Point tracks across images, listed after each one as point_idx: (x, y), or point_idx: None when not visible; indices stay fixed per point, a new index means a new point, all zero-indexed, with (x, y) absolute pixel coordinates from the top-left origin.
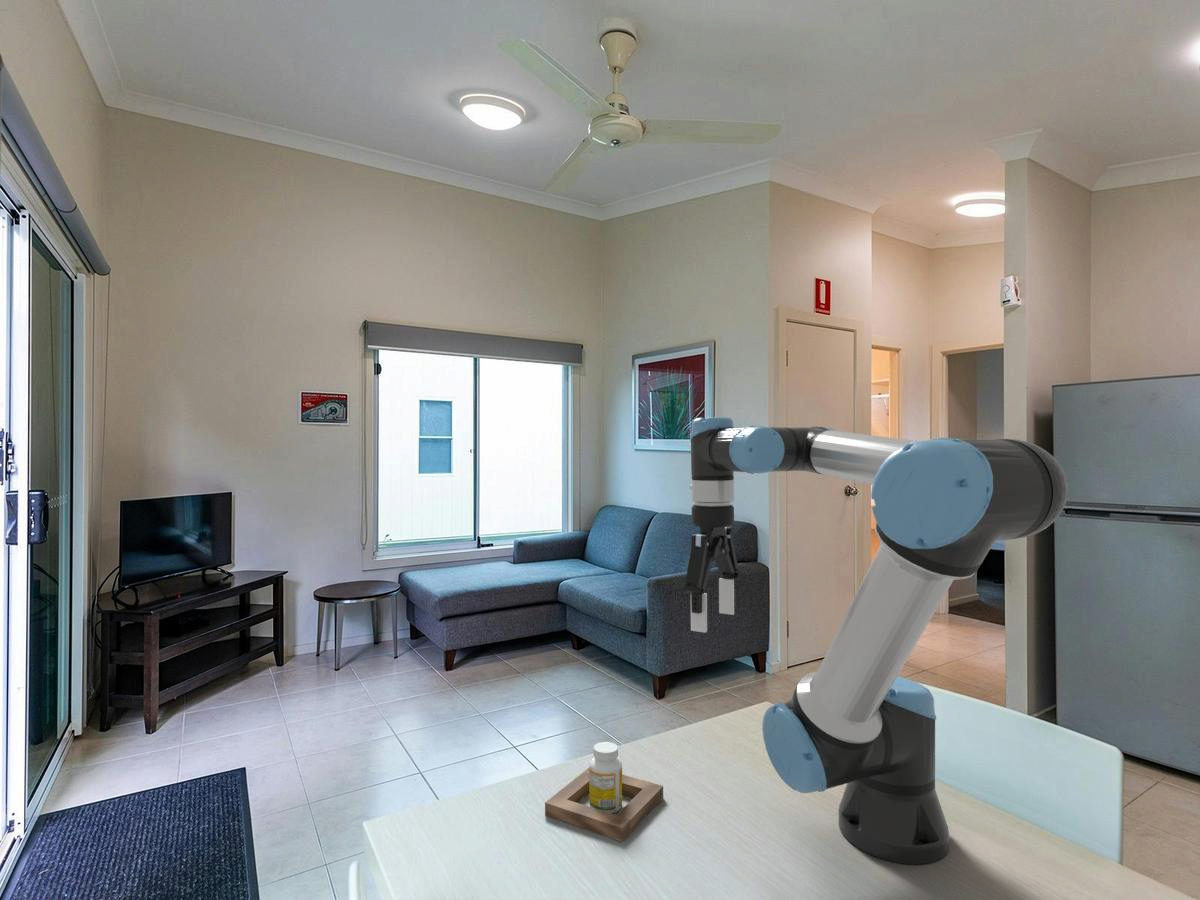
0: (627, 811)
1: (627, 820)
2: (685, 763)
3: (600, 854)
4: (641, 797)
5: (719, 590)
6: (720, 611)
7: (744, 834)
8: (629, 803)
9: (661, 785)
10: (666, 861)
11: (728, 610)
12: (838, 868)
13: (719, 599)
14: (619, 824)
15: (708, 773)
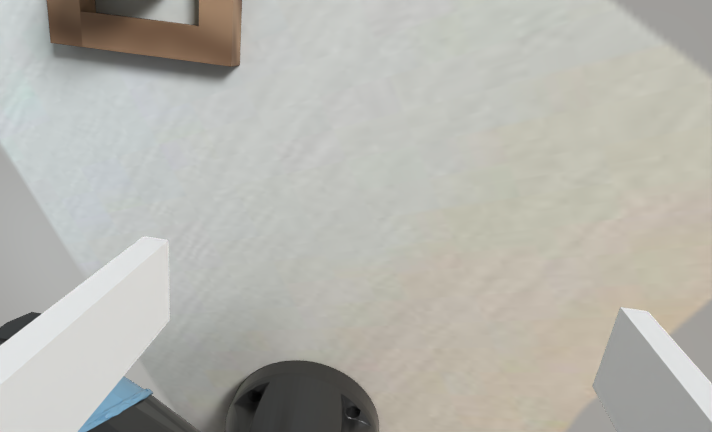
0: (104, 29)
1: (76, 42)
2: (407, 64)
3: (15, 18)
4: (165, 37)
5: (706, 424)
6: (623, 321)
7: (199, 233)
8: (132, 21)
9: (230, 62)
10: (65, 134)
11: (612, 377)
12: (185, 359)
13: (663, 369)
14: (57, 32)
15: (380, 127)
